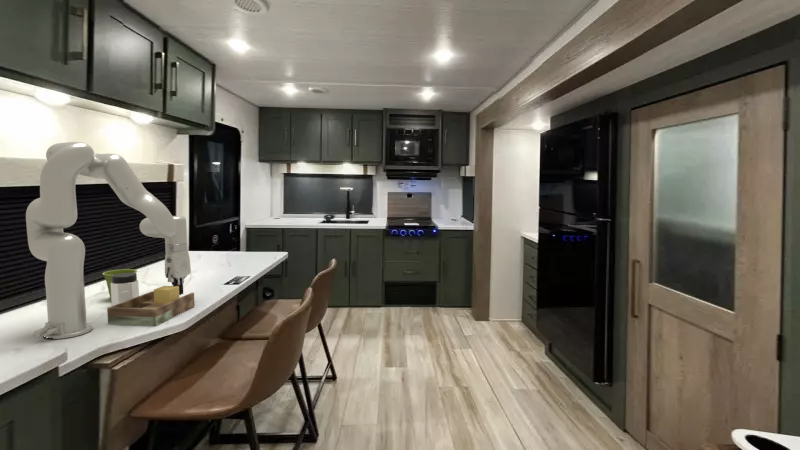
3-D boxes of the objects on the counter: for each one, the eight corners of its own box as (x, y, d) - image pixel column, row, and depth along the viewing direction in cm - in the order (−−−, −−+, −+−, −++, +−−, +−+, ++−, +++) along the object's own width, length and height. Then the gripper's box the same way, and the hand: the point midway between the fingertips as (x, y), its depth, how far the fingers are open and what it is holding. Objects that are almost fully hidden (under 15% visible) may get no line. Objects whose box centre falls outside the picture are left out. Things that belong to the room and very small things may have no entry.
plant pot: (122, 304, 168) (121, 275, 167) (96, 302, 170) (94, 274, 169) (145, 296, 179) (144, 269, 178) (120, 294, 181) (119, 268, 180)
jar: (111, 309, 160) (110, 278, 159) (111, 304, 167) (110, 274, 165) (139, 306, 165) (138, 275, 164) (138, 301, 172) (137, 271, 170)
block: (169, 303, 158) (169, 290, 158) (154, 302, 159) (153, 289, 158) (179, 299, 164) (178, 286, 164) (164, 298, 165) (164, 285, 164)
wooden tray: (155, 326, 142) (155, 309, 142) (108, 324, 144) (107, 308, 143) (194, 306, 165) (194, 292, 164) (152, 305, 166) (152, 291, 166)
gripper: (173, 251, 159) (175, 299, 161) (196, 245, 174) (198, 290, 175) (154, 250, 160) (156, 299, 161) (178, 245, 174) (180, 289, 176)
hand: (178, 294), depth 168 cm, fingers closed
